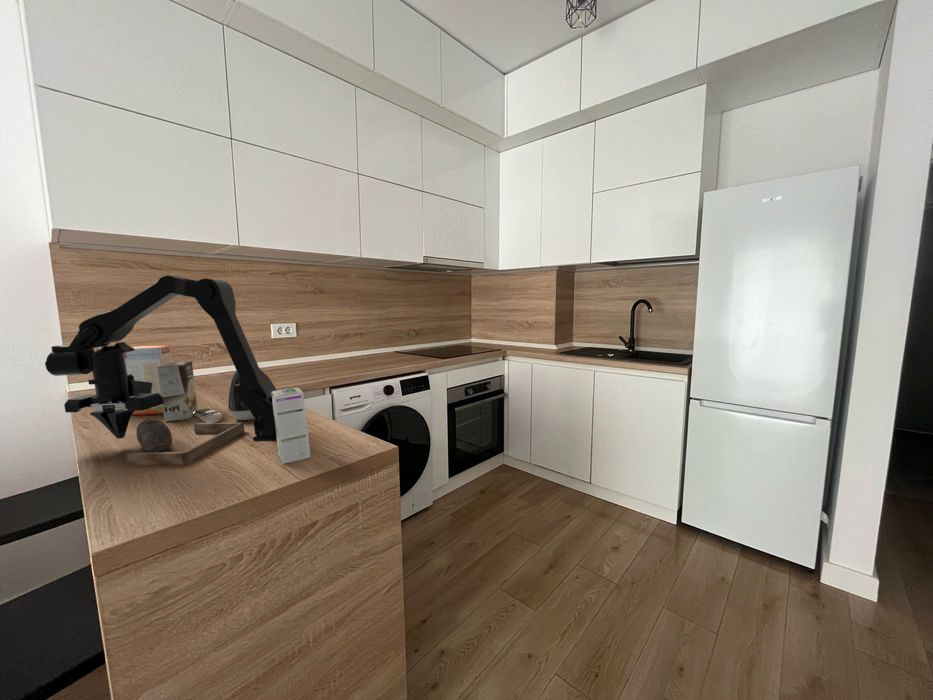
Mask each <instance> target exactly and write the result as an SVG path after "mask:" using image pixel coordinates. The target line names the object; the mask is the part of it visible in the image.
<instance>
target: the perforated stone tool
mask: <svg viewBox="0 0 933 700" xmlns="http://www.w3.org/2000/svg"><path fill="white" fill-rule="evenodd" d="M135 433H136V434H135V435H136V438H137V442H138V443H139V445H140V446H141V447H142V448H143V449H144V450H145V451H147V452H162V451H163V452H164V451H167V450H169V449H170V447H172V444H173V434H172V431H171V430H170V428H169V427H168V426H167V425H166V423H165V422H164V421H162V420H158V419H153V418H149V419H145V420H142V421H141V422H140V423H139V424H138V425H137V428H136V432H135Z"/></svg>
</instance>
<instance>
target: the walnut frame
mask: <svg viewBox="0 0 933 700" xmlns="http://www.w3.org/2000/svg"><path fill="white" fill-rule="evenodd" d="M193 428H194V434H195V433H202V434H216V435H214V436H212V437H210V438H209V439H207V440H204V441H203V442H200V443H198V444H197V445H195V446H193V447H190V448H189V449H187V450H185V451H163V452H162V451H160V452H149V451H147V452H128V453H126V454H125V456H126V460H127V461H126V463H127V466H177V465H178V466H180V465H181V466H185V465H188V463H189V464H190V463H192V462H194V461H195V459H196V460H197V459H199V458H201V457H202V455H203V456H204V455H206V454H208V453H210V452H211V451H213V450H215V449H217V448H218V446H219V445H220V446H222V445H224V444H226V443H227V442H229V441H230V439H231V438H233V437H234V438H236V437H238V436H240V435H242V434H243V433H245V425H244V422H208V423H207V422H205V423H204V422H203V423H199V422H198V423H197V422H196V423H194V424H193ZM242 432H243V433H242ZM241 433H242V434H241ZM239 434H240V435H239ZM237 435H238V436H237ZM235 436H236V437H235ZM234 438H233V439H234ZM228 440H229V441H228ZM231 440H232V439H231ZM226 441H227V442H226ZM225 442H226V443H225ZM223 443H224V444H223ZM221 444H222V445H221ZM220 446H219V447H220ZM216 447H217V448H216ZM214 448H215V449H214ZM212 449H213V450H212ZM210 450H211V451H210ZM209 451H210V452H209ZM207 452H208V453H207ZM200 456H201V457H200ZM198 457H199V458H198ZM193 460H194V461H193Z"/></svg>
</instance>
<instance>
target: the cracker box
mask: <svg viewBox="0 0 933 700" xmlns="http://www.w3.org/2000/svg"><path fill="white" fill-rule="evenodd" d="M131 347H132V348H134V351H131V352H126V353H124V357H125V363H126V369H127V375H129V374H132V376H134V380H135V381H143V382H150V383H153V385H152V391H151V393H159V394H160V395H161V390H160V383H159V375H158V369H157V367H159V366H162V365H164V364H167V363H175V362H174V355H173V349H172V345H169V344H167V345H142V346H137V345H136V346H131ZM131 397H134V396H131ZM156 414H158V415H159V414H163V415H164V412H163V404H161V405H158V406H156V407H153V408H150V409H147V410H142V411H134V412H133V414H132V415H131V416H134V415H136V416H137V415H138V416H139V415H140V416H141V415H156Z"/></svg>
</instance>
